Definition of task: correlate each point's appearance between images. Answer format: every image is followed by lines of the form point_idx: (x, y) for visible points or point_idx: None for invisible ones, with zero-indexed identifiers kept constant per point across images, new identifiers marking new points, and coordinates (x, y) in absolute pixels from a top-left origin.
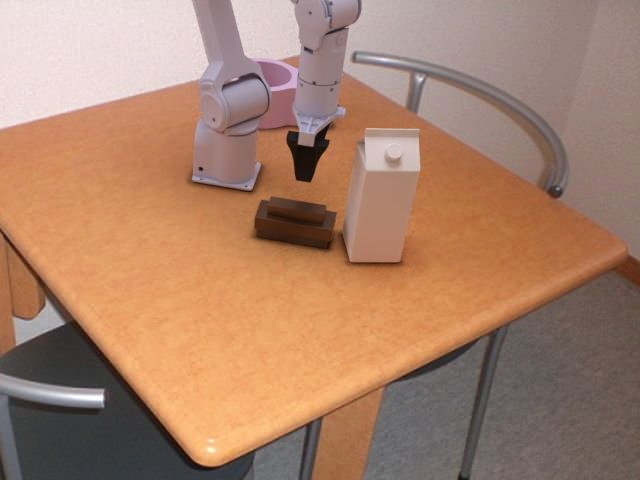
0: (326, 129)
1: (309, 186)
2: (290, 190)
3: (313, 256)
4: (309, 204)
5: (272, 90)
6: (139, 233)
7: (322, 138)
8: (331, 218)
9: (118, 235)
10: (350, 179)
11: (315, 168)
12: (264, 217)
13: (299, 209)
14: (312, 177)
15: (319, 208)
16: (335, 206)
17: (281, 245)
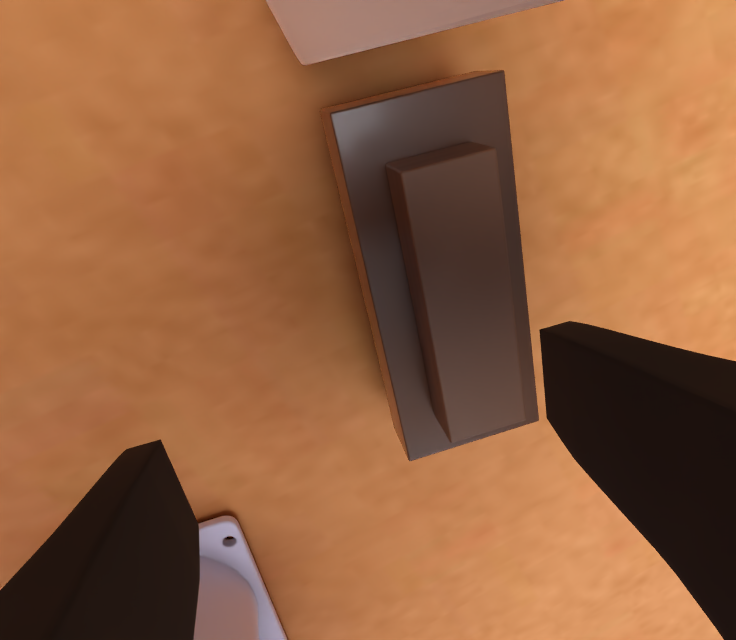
0: (67, 628)
1: (19, 357)
2: (114, 407)
3: (521, 123)
4: (440, 261)
5: None
6: (596, 607)
7: (119, 546)
8: (405, 117)
9: (620, 632)
10: (370, 48)
11: (695, 353)
12: (529, 390)
13: (506, 285)
14: (602, 329)
15: (452, 196)
16: (95, 182)
17: None
